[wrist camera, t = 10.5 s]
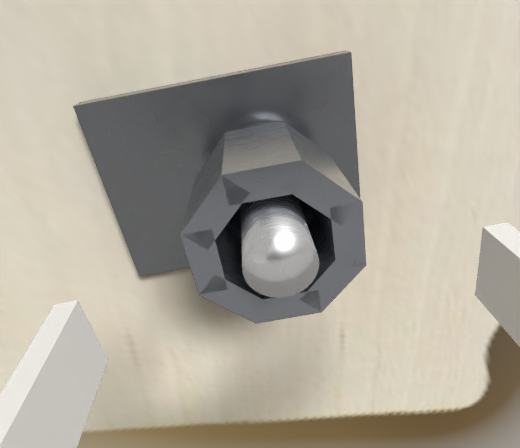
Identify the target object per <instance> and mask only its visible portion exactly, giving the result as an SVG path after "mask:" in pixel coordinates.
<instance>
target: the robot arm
mask: <svg viewBox="0 0 520 448" xmlns="http://www.w3.org/2000/svg"><path fill="white" fill-rule="evenodd" d="M475 295H476V297H477V298H478V299H479V300H480V301H481V302H482V304H483V305H484V306H485V307H486V308H487V309H488V311H489V312H490V313H491V314H492V315H493V316H494V318H495V319H496V320H497V321H498V322H499V323H500V325H501V326H502V327H503V328H504V329H505V330H506V331H507V332H508V334H509V335H510V336H511V337H512V338H513V340H514V341H515V342H516V343H517V344H518V345H519V347H520V232H519V231H518V230H516V229H515V228H514V227H512V226H511V225H510V224H509V223H502V224H497V225H491V226H486V227H483V231H482V240H481V248H480V257H479V266H478V274H477V283H476V291H475ZM107 362H108V358H107V356H106V354H105V352H104V350H103V348H102V346H101V344H100V342H99V340H98V338H97V336H96V334H95V332H94V330H93V328H92V326H91V325H90V323H89V321H88V319H87V317H86V315H85V313H84V311H83V309H82V307H81V305H80V303H79V301H78V300H76V301H71V302H65V303H60V304H55V305H54V307H53V309H52V310H51V312H50V314H49V315H48V317H47V319H46V320H45V322H44V323H43V325H42V327H41V328H40V330H39V332H38V333H37V335H36V337H35V338H34V340H33V342H32V343H31V345H30V347H29V348H28V350H27V351H26V353H25V355H24V356H23V358H22V360H21V361H20V363H19V365H18V366H17V368H16V370H15V371H14V373H13V374H12V376H11V378H10V379H9V381H8V383H7V384H6V386H5V388H4V389H3V391H2V393H1V394H0V448H77V446H78V443H79V440H80V438H81V435H82V432H83V429H84V426H85V424H86V421H87V418H88V415H89V412H90V410H91V407H92V404H93V401H94V398H95V396H96V393H97V390H98V387H99V384H100V382H101V379H102V376H103V373H104V370H105V368H106V365H107Z"/></svg>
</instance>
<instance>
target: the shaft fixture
mask: <svg viewBox="0 0 520 448" xmlns="http://www.w3.org/2000/svg"><path fill="white" fill-rule="evenodd" d="M73 107H74V109H75V112H76V114H77V117H78V120H79V122H80V125H81V127H82V130H83V133H84V135H85V138H86V140H87V143H88V145H89V148H90V151H91V153H92V156H93V158H94V161H95V163H96V166H97V169H98V171H99V174H100V176H101V179H102V181H103V184H104V187H105V189H106V192H107V194H108V197H109V199H110V202H111V205H112V207H113V210H114V212H115V215H116V217H117V220H118V223H119V225H120V228H121V230H122V233H123V235H124V238H125V241H126V243H127V246H128V248H129V251H130V253H131V256H132V259H133V261H134V264H135V266H136V269H137V271H138V274H139V276H145V275H150V274H156V273H161V272H167V271H173V270H178V269H184V268H189V267H190V264H189V261H188V258H187V255H186V251H185V248H184V245H183V242H182V238H181V235H180V234H181V230H182V227H183V223H184V219H185V215H186V211H187V207H188V204H189V200H190V196H191V192H192V188H193V185H194V181H195V177H196V176H197V174H198V173H199V171H200V170H201V168H202V167H203V165H204V164H205V162H206V161H207V159H208V158H209V156H210V155H211V153H212V152H213V150H214V149H215V147H216V146H217V144H218V143H219V141H220V140H221V138H222V137H223V135H224V133H225V132H228V131H233V130H239V129H244V128H249V127H254V126H260V125H265V124H270V123H276V122H281V121H284V122H285V123H287V124H288V125H289V126H291V127H292V128H294V129H295V130H296V131H298V132H299V133H301V134H302V135H303V136H305V137H306V138H308V139H309V140H310V141H312V142H313V143H315V144H316V145H318V146H319V147H320V148H322V149H323V150H325V151H326V152H327V153H328V154H329V155H330V156H331V158H332V159H333V161H334V162H335V163H336V165H337V166H338V168H339V169H340V171H341V172H342V173H343V175H344V176H345V178H346V179H347V181H348V182H349V183H350V185H351V186H352V188H353V189H354V190H355V192H356V193H357V195H358V196H359V198H360V188H359V172H358V155H357V139H356V123H355V107H354V91H353V75H352V58H351V52H349V51H342V52H336V53H331V54H326V55H321V56H316V57H311V58H306V59H300V60H295V61H290V62H285V63H280V64H275V65H270V66H265V67H259V68H254V69H249V70H244V71H239V72H234V73H229V74H223V75H218V76H213V77H208V78H203V79H198V80H193V81H188V82H182V83H177V84H172V85H167V86H162V87H157V88H152V89H146V90H141V91H136V92H131V93H126V94H121V95H116V96H111V97H105V98H100V99H95V100H90V101H85V102H80V103H78V104H76V105H74V106H73ZM305 205H306V203H305V202H304V201H302V200H301V199H299V198H297V197H296V196H294V195H293V194H291V195H285V196H280V197H274V198H269V199H263V200H258V201H252V202H247V203H242V204H241V206H240V207H239V208H238V210H237V211H236V212H235V214H234V215H233V216H232V217H234V218H235V219H237V220H239V221H240V222H241V243H242V271H243V275H244V278H245V280H246V282H247V283H248V285H249V286H250V287H251V288H252V289H254V290H255V291H256V292H258V293H260V294H262V295H265V296H268V297H275V298H282V297H288V296H292V295H295V294H297V293H299V292H301V291H303V290H304V289H306V288H307V287H308V286H309V285H310V284H311V283H312V282H313V280H314V279H315V277H316V275H317V273H318V269H319V257H318V254H317V251H316V248H315V245H314V242H313V240H312V237H311V234H310V231H309V228H308V225H307V223H306V220H305V217H304V214H303V211H302V208H303V207H304V206H305Z"/></svg>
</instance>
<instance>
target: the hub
mask: <svg viewBox="0 0 520 448" xmlns="http://www.w3.org/2000/svg"><path fill="white" fill-rule="evenodd" d="M291 194H293V195H294V196H296V197H297V198H299V199H301V200H302V201H304V202H305V203H306V205H305V206H304V207H303V208H302V211H303V214H304V217H305V220H306V223H307V225H308V228H309V231H310V234H311V237H312V240H313V242H314V245H315V248H316V251H317V254H318V257H319V269H318V273H317V275H316V277H315V279H314V280H313V282H312V283H311V284H310V285H309V286H308V287H307V288H306V289H304V290H303V291H301V292H299V293H297V294H295V295H292V296H288V297H282V298H275V297H268V296H265V295H262V294H260V293H258V292H256V291H255V290H254V289H252V288H251V287H250V286H249V285H248V283H247V282H246V280H245V278H244V275H243V271H242V243H241V222H240V221H239V220H237V219H235V218H234V217H232V216H233V215H234V214H235V212H236V211H237V210H238V208H239V207H240V206H241V204H242V203H247V202H252V201H258V200H263V199H269V198H274V197H280V196H285V195H291ZM180 235H181V238H182V242H183V245H184V248H185V251H186V255H187V258H188V261H189V264H190V268H191V271H192V274H193V277H194V280H195V284H196V287H197V290H198V293H199V295H201V296H203V297H204V298H206V299H208V300H210V301H212V302H214V303H216V304H218V305H220V306H222V307H224V308H226V309H228V310H230V311H232V312H234V313H236V314H238V315H240V316H242V317H244V318H246V319H248V320H250V321H252V322H254V323H262V322H268V321H274V320H280V319H285V318H291V317H297V316H303V315H308V314H314V313H320V312H322V311H323V310H324V309H325V308H326V307H327V306H328V305H329V304H330V303H331V302H332V301H333V300H334V299H335V298H336V297H337V296H338V294H339V293H340V292H341V291H342V290H343V289H344V288H345V287H346V286H347V285H348V284H349V283H350V282H351V281H352V280H353V279H354V278H355V276H356V275H357V274H358V273H359V272H360V271H361V270H362V269H363V268H364V267H365V266H366V254H365V237H364V220H363V203H362V200H361V199H360V198H359V196H358V195H357V193H356V192H355V190H354V189H353V188H352V186H351V185H350V183H349V182H348V181H347V179H346V178H345V176H344V175H343V173H342V172H341V171H340V169H339V168H338V166H337V165H336V163H335V162H334V161H333V159H332V158H331V156H330V155H329V154H328V153H327V152H326V151H325V150H323V149H322V148H320V147H319V146H318V145H316V144H315V143H313V142H312V141H310V140H309V139H308V138H306V137H305V136H303V135H302V134H301V133H299V132H298V131H296V130H295V129H294V128H292V127H291V126H289V125H288V124H287V123H285V122H284V121H281V122H276V123H270V124H265V125H260V126H254V127H249V128H244V129H239V130H233V131H228V132H225V133H224V135H223V137H222V138H221V140H220V141H219V143H218V144H217V146H216V147H215V149H214V150H213V152H212V153H211V155H210V156H209V158H208V159H207V161H206V162H205V164H204V165H203V167H202V168H201V170H200V171H199V173H198V174H197V176H196V177H195V181H194V185H193V188H192V192H191V196H190V200H189V204H188V207H187V211H186V215H185V219H184V223H183V227H182V230H181V234H180Z"/></svg>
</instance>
